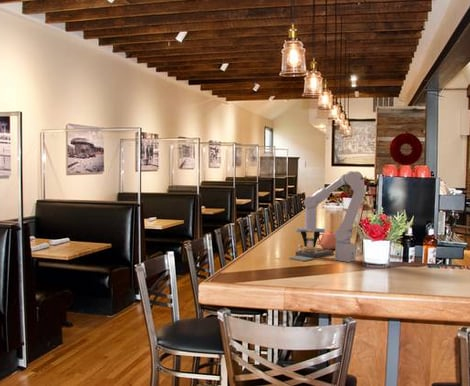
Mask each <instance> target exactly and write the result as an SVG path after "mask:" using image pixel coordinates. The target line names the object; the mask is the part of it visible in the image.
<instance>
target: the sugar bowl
mask: <svg viewBox="0 0 470 386" xmlns="http://www.w3.org/2000/svg"><path fill="white" fill-rule="evenodd" d="M334 235H335V232H334V230H328V232H325V233H320V235H319V237H318V239H317V242H316V245H317V246H320V248H322V249H328V250H334V249H336V239H335V236H334ZM320 236H321V237H320Z"/></svg>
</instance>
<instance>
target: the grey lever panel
mask: <svg viewBox="0 0 470 386" xmlns="http://www.w3.org/2000/svg"><path fill="white" fill-rule="evenodd" d="M331 254H332V255H335V250H334V249H325V248H322V247H315V250H314V253H307V252H306V250H305V249H302V252H299V250H298V251H295V256H303V257H309V258H314V259H315V258H321V257H326V255H327V256H331Z"/></svg>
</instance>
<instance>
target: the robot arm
mask: <svg viewBox="0 0 470 386" xmlns="http://www.w3.org/2000/svg"><path fill="white" fill-rule="evenodd" d="M343 185H349V186H350V188H351V190H352V192H353V193H352V196H351V199H350V202H349V205H348V207H347V210H346V212H345V214H344V217H343V220H342V222H341V223H340V224H339V227H338V229H336V230H335V232H334V233H335V235H334V236H335V239H336V249H335V250H334V255H335V256H334V257H332V258H331V260H334V261H339V262H345V263H350V262H354V261H357V259H356V257H357V255H356V254H357V253H356V252H357V251H356V250H357V247H356V244H355V243H352V242H351V238H352V237H353V229H354V222H355V220H356V218H357V214H358V212H359V209H360V207H361V205H362V202H363V200H364V197H365V194H366V186H365V177H364V176H363V174H362V173H361V172H359V171H352V170H351V171H348V172H346V173H344V174H342V175H341V176H339V177H338V178H337V179H336V180H334V181H333V182H332V183H331V184H329V185H328V186H327V187H319V188H318V189H317V191H316V192H314V193H310V196H306V197H305V198H304V201H303V205H304V206H305V208H304V209H305V214H304V215H305V216H304V227H295V232H296V233H300V235H301V236H302V240H303V244H304V245H303V246H304V247H306V238H307V237H308V236H307V235H308V234H307V233H313V239H314V247H315V248H316V245H317V241H318V237H319V238H320V236H321V235H320V234H324V233H326V229H325V228H317V215H318V214H317V209H318V206H319V204H321V203H322V202H324V201H325V200H327V199H328V198H330V195H331V193H333V192H334V191H335V190H336V189H338V188H340V187H341V186H343ZM319 235H320V236H319Z"/></svg>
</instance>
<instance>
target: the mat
mask: <svg viewBox="0 0 470 386" xmlns="http://www.w3.org/2000/svg"><path fill="white" fill-rule="evenodd" d="M288 258H289V260H294V261H301V262H308V261H313V260H314V259H315V258H309V257H303V256H296V255H294V256H291V257H288Z"/></svg>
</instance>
